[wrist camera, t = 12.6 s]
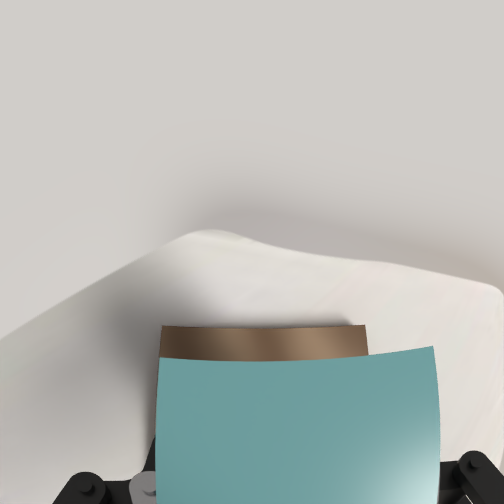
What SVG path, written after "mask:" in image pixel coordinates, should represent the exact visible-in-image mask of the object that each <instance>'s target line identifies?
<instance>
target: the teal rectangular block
mask: <svg viewBox="0 0 504 504" xmlns="http://www.w3.org/2000/svg"><path fill="white" fill-rule="evenodd" d="M155 470H156V503H157V504H437V496H438V485H439V470H440V410H439V395H438V383H437V373H436V364H435V357H434V349H433V346H430V347H424V348H418V349H412V350H406V351H399V352H392V353H384V354H376V355H367V356H358V357H347V358H335V359H320V360H302V361H266V362H241V361H206V360H187V359H173V358H161V357H160V359H159V372H158V387H157V407H156V442H155Z"/></svg>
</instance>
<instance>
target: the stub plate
mask: <svg viewBox="0 0 504 504" xmlns="http://www.w3.org/2000/svg"><path fill="white" fill-rule="evenodd" d="M367 355H368V346H367V337H366V329H365V325H354V326H337V327H316V328H277V329H237V328H199V327H177V326H162V331H161V341H160V352H159V359H160V357H161V358H173V359H187V360H206V361H241V362H266V361H302V360H320V359H335V358H347V357H358V356H367ZM158 372H159V364H158ZM157 387H158V378H157ZM156 407H157V394H156ZM155 433H156V417H155Z"/></svg>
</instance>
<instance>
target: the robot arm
mask: <svg viewBox="0 0 504 504" xmlns="http://www.w3.org/2000/svg"><path fill="white" fill-rule="evenodd" d="M155 442H156V433H155V437H154V439H153V442H152V445H151V448H150V451H149V454H148V457H147V460H146V463H145V466H144V469H143V470H142V472H141V473H139V474H137V475H135V476H134V477H133V478H132V479H130V480H125V481H103V480H102V479H101V478H100V477H99V476H98V475H96V474H94V473H91V472H80V473H77V474H75V475H73V476H72V477H71V478H70V479H69V481H68V482H67V484H66V485H65V486H64V488H63V489H62V491H61V492H60V494H59V495H58V496H57V498H56V499H55V501H54V502H53V504H157V503H156V470H155ZM466 495H467V496H468V498H469V499H470V500H471V502H472V503H473V504H504V476H503V475H502V474H501V473H500V471H499V470H498V469H497V468H496V467H495V466H494V464H493V463H492V462H491V461H490V460H489V459H488V458H487V457H486V455H485V454H483V453H482V452H479V451H469V452H466V453H465V454H464V455H463V456H462V457H461V458H460V459H459V461H448V462H440V470H439V485H438V496H437V504H472V503H471V502H470V501H469V499H468V498H467V497H466Z"/></svg>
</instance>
